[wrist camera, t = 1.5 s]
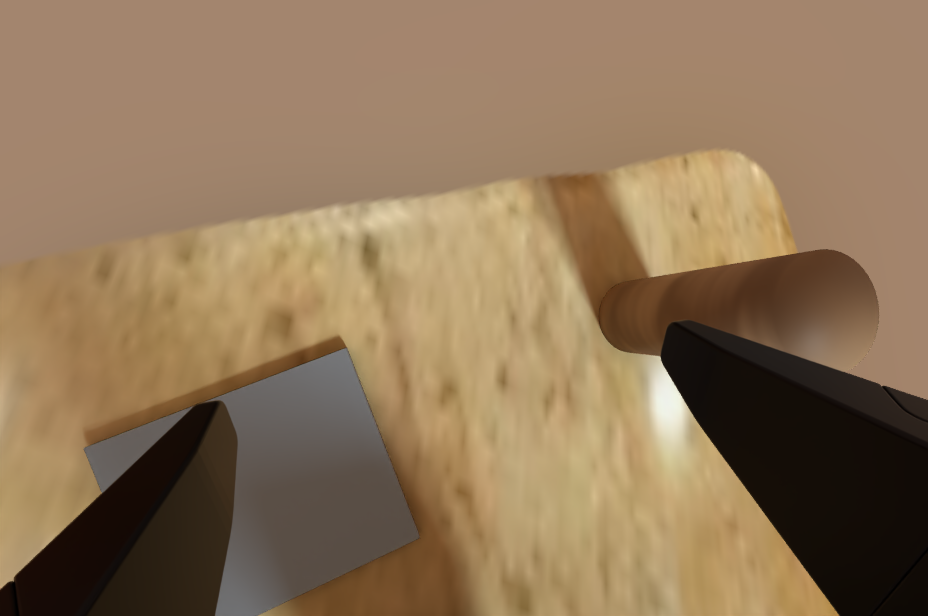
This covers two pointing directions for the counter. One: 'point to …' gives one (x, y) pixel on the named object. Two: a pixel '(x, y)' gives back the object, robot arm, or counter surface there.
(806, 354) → the walnut peg
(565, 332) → the counter surface
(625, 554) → the counter surface
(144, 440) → the slate mat
